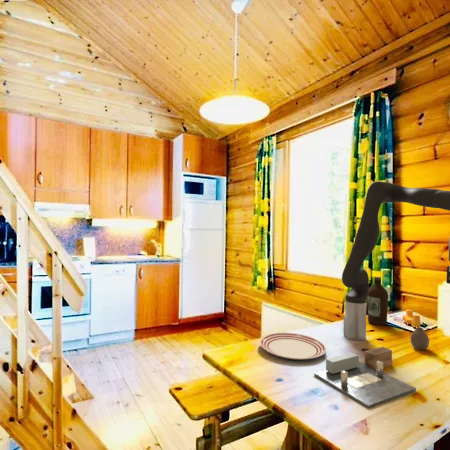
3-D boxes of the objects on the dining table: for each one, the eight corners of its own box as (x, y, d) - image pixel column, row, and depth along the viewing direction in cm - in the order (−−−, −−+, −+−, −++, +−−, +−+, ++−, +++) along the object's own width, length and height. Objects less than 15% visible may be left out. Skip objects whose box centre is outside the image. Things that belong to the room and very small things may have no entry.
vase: (406, 345, 138) (406, 325, 138) (421, 345, 139) (421, 325, 139) (417, 351, 131) (417, 330, 131) (433, 351, 132) (433, 330, 132)
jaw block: (364, 367, 117) (364, 351, 117) (382, 362, 121) (382, 346, 121) (374, 371, 113) (374, 355, 113) (391, 366, 117) (391, 350, 117)
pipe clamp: (402, 320, 175) (402, 309, 175) (411, 321, 174) (411, 309, 174) (410, 327, 163) (411, 315, 163) (420, 328, 162) (420, 315, 163)
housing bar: (326, 370, 109) (326, 358, 109) (352, 363, 115) (352, 352, 115) (332, 373, 107) (332, 362, 107) (358, 366, 112) (358, 355, 112)
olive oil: (373, 318, 179) (373, 275, 179) (391, 323, 170) (392, 277, 170) (363, 321, 173) (363, 276, 173) (381, 326, 164) (382, 279, 164)
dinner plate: (337, 350, 132) (337, 342, 132) (305, 372, 112) (305, 363, 112) (282, 335, 151) (282, 328, 151) (246, 351, 131) (246, 343, 131)
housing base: (314, 377, 108) (314, 359, 108) (358, 364, 118) (358, 349, 118) (368, 410, 88) (368, 389, 88) (416, 392, 98) (416, 373, 98)
